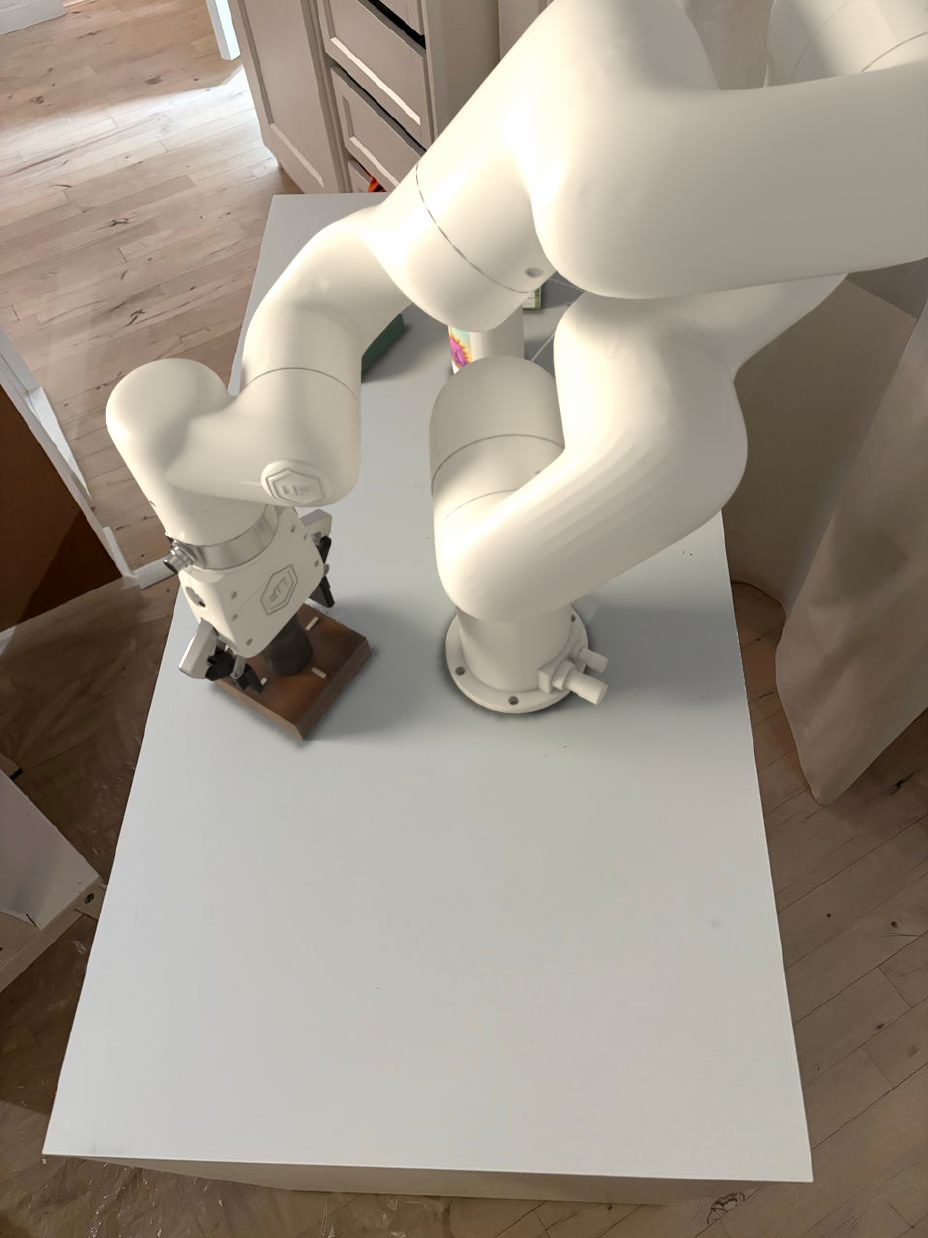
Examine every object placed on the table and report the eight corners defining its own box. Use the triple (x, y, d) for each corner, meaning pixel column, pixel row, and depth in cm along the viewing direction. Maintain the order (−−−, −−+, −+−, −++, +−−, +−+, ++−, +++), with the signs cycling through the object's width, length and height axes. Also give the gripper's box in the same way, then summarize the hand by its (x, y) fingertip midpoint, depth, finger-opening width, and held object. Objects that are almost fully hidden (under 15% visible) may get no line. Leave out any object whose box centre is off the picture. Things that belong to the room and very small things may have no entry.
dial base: (372, 654, 86) (366, 636, 83) (303, 741, 82) (295, 725, 79) (287, 606, 89) (279, 587, 86) (217, 687, 85) (206, 670, 83)
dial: (283, 624, 84) (266, 588, 80) (321, 646, 83) (307, 611, 78) (251, 661, 83) (232, 627, 78) (290, 684, 81) (273, 651, 76)
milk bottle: (527, 347, 105) (522, 181, 88) (522, 398, 101) (516, 235, 84) (457, 346, 106) (439, 182, 89) (450, 397, 102) (429, 235, 85)
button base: (405, 329, 108) (400, 301, 104) (352, 385, 104) (345, 357, 100) (336, 301, 111) (329, 272, 108) (282, 354, 107) (273, 326, 104)
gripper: (178, 633, 62) (253, 742, 76) (339, 455, 69) (379, 586, 83) (99, 585, 64) (185, 698, 79) (261, 418, 71) (313, 551, 86)
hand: (284, 641), depth 81 cm, fingers open, 9 cm apart
